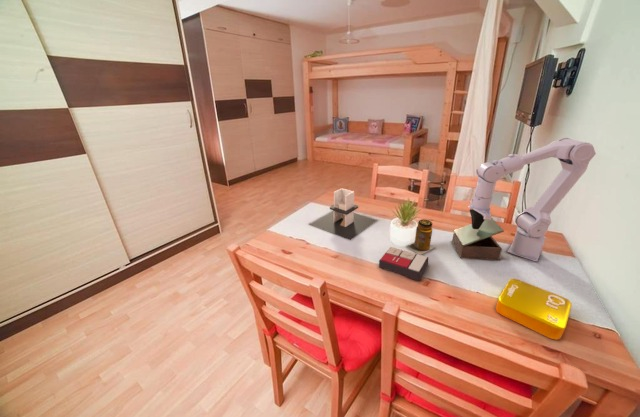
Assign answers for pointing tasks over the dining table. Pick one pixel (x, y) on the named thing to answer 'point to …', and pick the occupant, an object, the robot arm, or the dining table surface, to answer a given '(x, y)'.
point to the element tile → (534, 308)
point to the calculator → (404, 263)
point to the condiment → (422, 237)
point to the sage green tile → (477, 232)
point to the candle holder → (343, 217)
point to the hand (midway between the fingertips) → (475, 228)
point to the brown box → (478, 249)
